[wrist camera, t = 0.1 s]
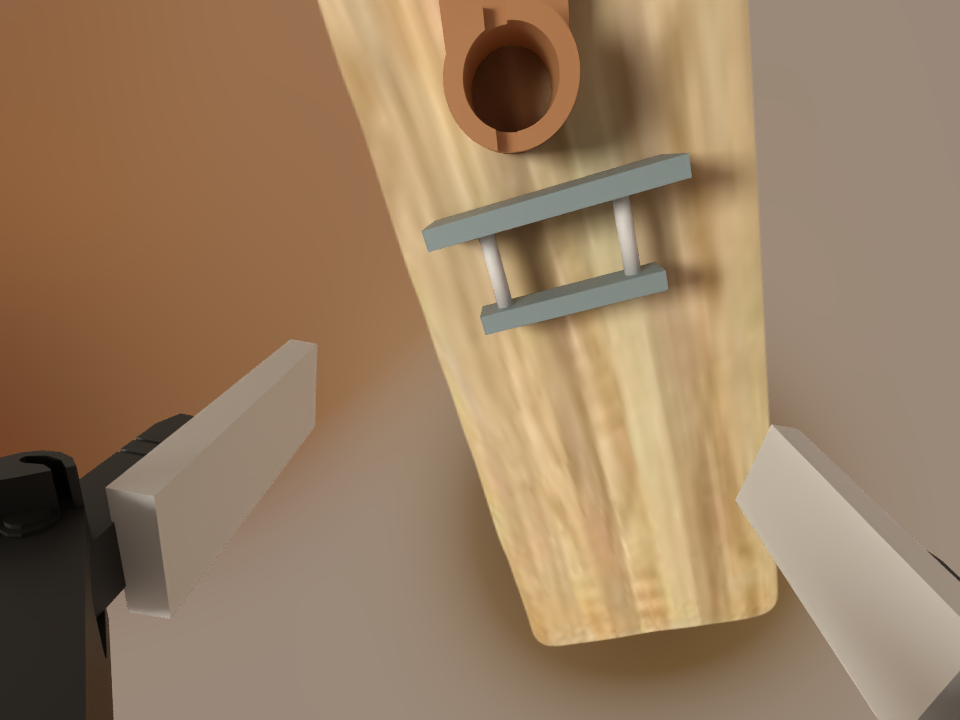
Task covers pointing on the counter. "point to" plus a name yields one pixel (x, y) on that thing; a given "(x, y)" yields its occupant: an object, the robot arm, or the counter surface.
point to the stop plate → (555, 203)
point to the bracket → (498, 23)
